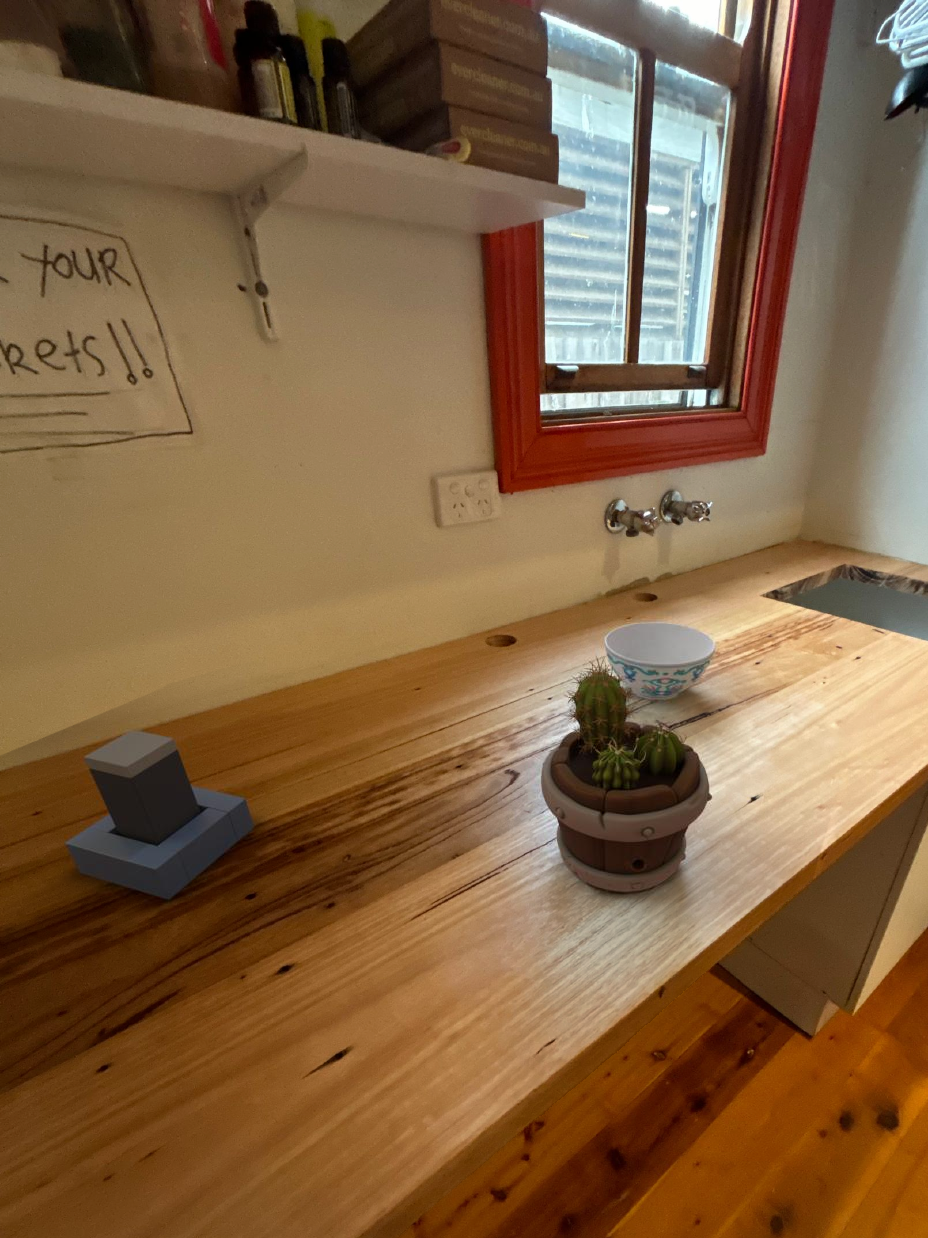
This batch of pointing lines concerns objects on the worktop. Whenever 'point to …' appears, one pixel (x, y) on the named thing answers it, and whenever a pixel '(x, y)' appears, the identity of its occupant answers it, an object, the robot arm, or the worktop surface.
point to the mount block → (163, 847)
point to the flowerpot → (621, 791)
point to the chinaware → (658, 657)
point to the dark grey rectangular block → (144, 786)
